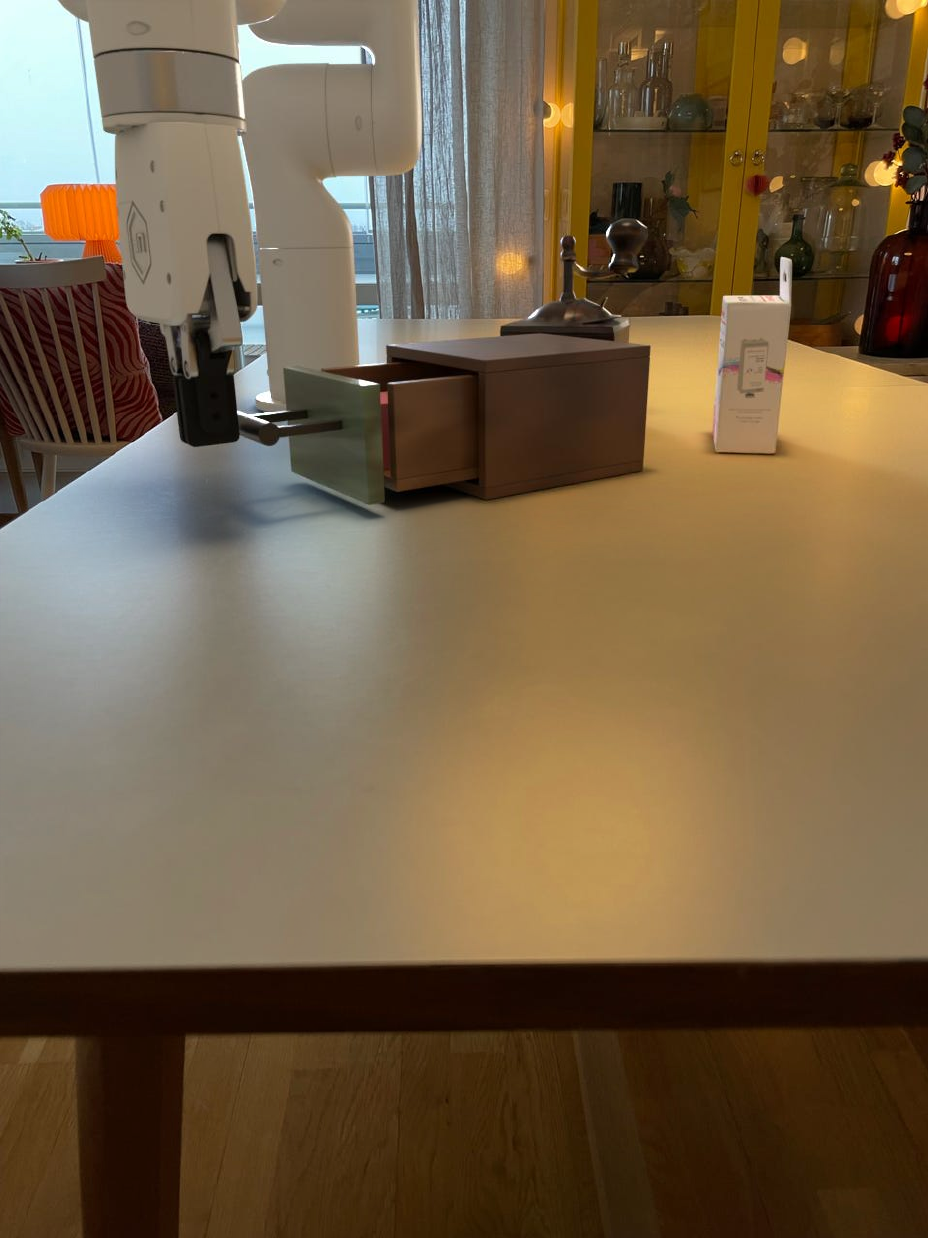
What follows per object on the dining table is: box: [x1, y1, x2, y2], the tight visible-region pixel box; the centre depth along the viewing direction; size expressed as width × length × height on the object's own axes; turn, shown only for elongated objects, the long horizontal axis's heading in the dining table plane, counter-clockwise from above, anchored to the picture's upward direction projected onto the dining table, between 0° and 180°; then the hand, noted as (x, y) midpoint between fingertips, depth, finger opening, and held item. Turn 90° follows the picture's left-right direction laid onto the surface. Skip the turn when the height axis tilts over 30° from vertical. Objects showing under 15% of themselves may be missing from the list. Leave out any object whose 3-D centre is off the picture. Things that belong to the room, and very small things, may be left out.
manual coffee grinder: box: [499, 217, 649, 343], centre depth 87 cm, size 16×11×18 cm
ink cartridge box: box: [711, 256, 793, 455], centre depth 76 cm, size 9×5×15 cm, turn 168°
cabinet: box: [385, 333, 651, 501], centre depth 70 cm, size 15×13×9 cm
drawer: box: [237, 361, 479, 505], centre depth 63 cm, size 19×11×7 cm, turn 124°
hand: (210, 441), depth 57 cm, fingers closed
